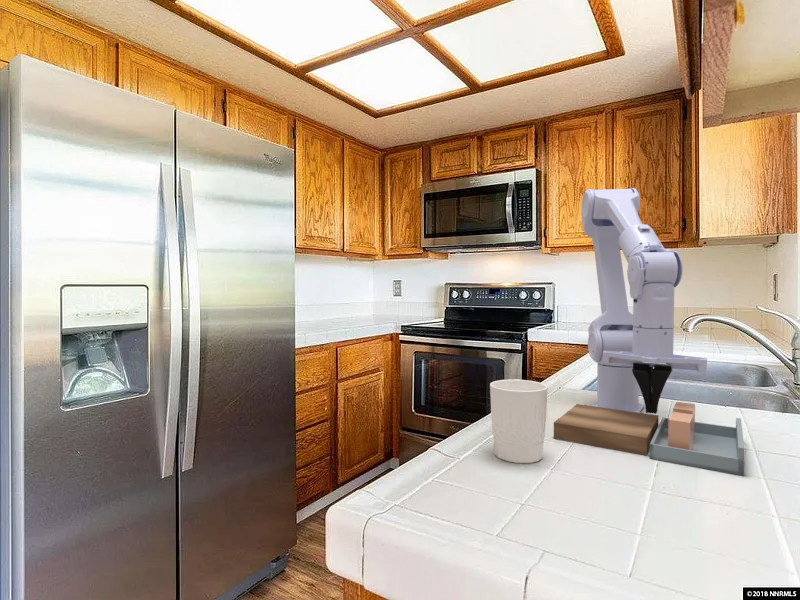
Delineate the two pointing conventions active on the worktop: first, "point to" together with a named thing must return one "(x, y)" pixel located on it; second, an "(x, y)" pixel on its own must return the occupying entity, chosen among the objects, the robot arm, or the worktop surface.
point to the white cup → (518, 419)
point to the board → (607, 428)
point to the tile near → (681, 430)
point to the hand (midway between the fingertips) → (651, 411)
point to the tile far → (685, 410)
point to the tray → (704, 447)
